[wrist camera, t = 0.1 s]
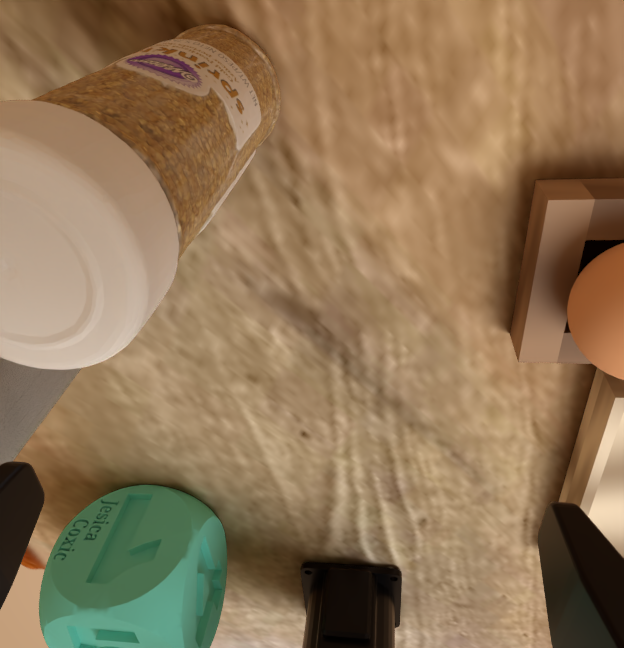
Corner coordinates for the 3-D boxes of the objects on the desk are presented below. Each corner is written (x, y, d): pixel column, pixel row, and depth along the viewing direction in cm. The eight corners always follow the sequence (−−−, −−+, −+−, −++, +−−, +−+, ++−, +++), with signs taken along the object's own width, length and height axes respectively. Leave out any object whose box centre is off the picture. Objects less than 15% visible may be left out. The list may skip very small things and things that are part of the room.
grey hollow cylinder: (25, 230, 24) (-171, 381, 16) (125, 248, 24) (-19, 409, 16) (41, 314, 27) (-120, 483, 18) (132, 330, 27) (11, 507, 18)
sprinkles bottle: (282, 25, 18) (119, 141, 7) (281, 160, 21) (159, 393, 10) (151, 18, 19) (-192, 117, 8) (166, 151, 21) (-75, 366, 10)
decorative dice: (212, 484, 33) (167, 618, 26) (235, 562, 37) (201, 694, 31) (88, 479, 34) (16, 606, 27) (125, 556, 38) (69, 681, 32)
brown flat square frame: (681, 336, 23) (703, 366, 22) (510, 334, 24) (518, 362, 23) (743, 175, 19) (775, 196, 18) (535, 180, 20) (548, 200, 19)
